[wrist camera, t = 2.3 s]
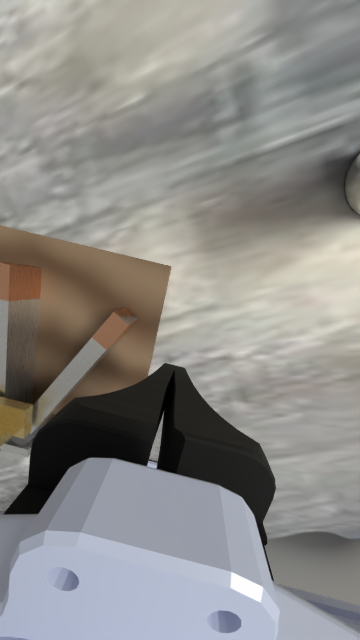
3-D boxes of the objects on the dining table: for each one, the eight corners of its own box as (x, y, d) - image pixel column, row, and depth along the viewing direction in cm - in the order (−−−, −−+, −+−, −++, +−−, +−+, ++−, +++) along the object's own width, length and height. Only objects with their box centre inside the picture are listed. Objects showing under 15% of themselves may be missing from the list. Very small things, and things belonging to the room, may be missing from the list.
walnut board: (132, 447, 22) (129, 455, 21) (-8, 412, 23) (-17, 418, 22) (171, 267, 18) (170, 266, 17) (-4, 225, 18) (-15, 222, 17)
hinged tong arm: (46, 425, 21) (22, 449, 18) (29, 412, 21) (2, 433, 18) (141, 321, 18) (132, 328, 15) (123, 304, 18) (110, 308, 15)
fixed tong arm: (51, 430, 21) (27, 456, 18) (17, 422, 21) (-13, 446, 18) (67, 274, 18) (40, 272, 14) (26, 264, 18) (-10, 260, 15)
